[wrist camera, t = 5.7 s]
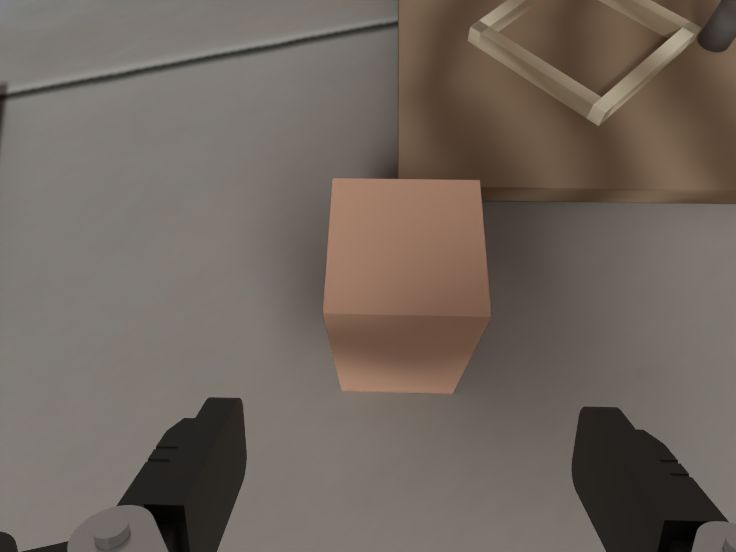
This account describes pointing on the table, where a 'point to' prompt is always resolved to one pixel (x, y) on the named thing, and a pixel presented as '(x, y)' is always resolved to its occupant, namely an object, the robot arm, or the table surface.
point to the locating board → (570, 98)
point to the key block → (405, 282)
